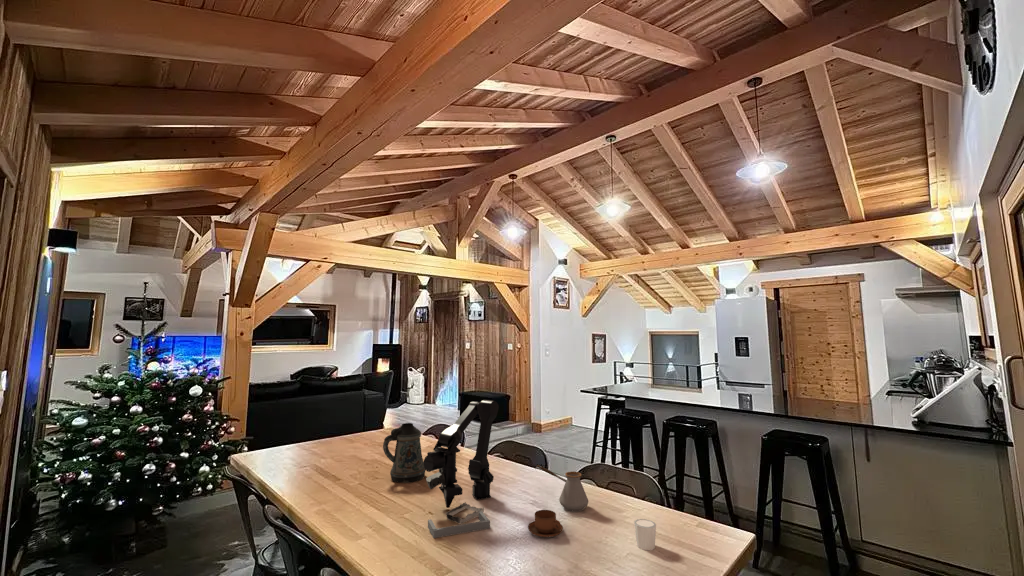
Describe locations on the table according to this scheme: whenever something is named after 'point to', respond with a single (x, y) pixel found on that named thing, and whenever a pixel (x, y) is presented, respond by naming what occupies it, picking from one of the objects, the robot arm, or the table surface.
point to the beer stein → (405, 454)
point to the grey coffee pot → (571, 491)
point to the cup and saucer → (545, 524)
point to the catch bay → (459, 527)
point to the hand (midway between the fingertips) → (447, 507)
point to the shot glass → (645, 534)
